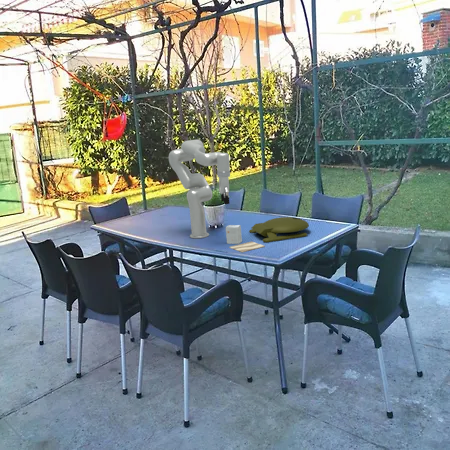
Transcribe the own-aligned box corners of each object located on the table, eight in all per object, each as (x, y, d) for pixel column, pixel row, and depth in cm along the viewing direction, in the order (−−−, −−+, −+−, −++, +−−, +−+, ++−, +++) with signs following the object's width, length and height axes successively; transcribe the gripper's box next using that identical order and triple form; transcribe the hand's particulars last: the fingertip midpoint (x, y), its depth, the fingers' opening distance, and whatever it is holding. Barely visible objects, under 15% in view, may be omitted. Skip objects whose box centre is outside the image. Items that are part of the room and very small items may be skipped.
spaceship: (264, 243, 283) (263, 228, 281) (248, 232, 312) (247, 218, 310) (317, 235, 292) (317, 220, 289) (297, 225, 321) (296, 211, 318)
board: (229, 247, 280) (229, 246, 279) (251, 242, 287) (251, 241, 287) (242, 252, 268) (241, 251, 268) (265, 246, 275) (265, 245, 275)
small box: (242, 241, 290) (241, 225, 288) (238, 244, 285) (237, 227, 283) (230, 241, 293) (228, 224, 291) (226, 243, 288) (225, 227, 286)
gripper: (215, 172, 288) (217, 200, 292) (219, 176, 271) (221, 205, 276) (227, 171, 289) (229, 199, 293) (232, 175, 272) (234, 204, 277)
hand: (225, 202), depth 284 cm, fingers open, 9 cm apart
